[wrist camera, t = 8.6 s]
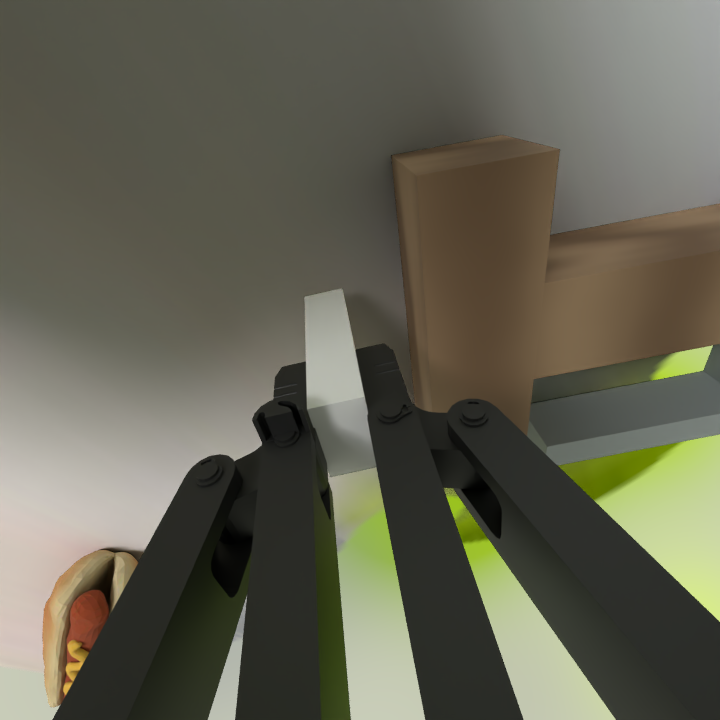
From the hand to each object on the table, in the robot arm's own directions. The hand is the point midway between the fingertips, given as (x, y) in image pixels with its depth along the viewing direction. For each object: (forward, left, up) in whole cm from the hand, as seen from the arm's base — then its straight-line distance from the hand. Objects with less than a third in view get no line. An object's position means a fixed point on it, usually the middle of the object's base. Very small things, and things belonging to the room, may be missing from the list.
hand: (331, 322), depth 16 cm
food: (-18, -18, -2) cm, 26 cm away
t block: (+10, -1, -1) cm, 10 cm away
